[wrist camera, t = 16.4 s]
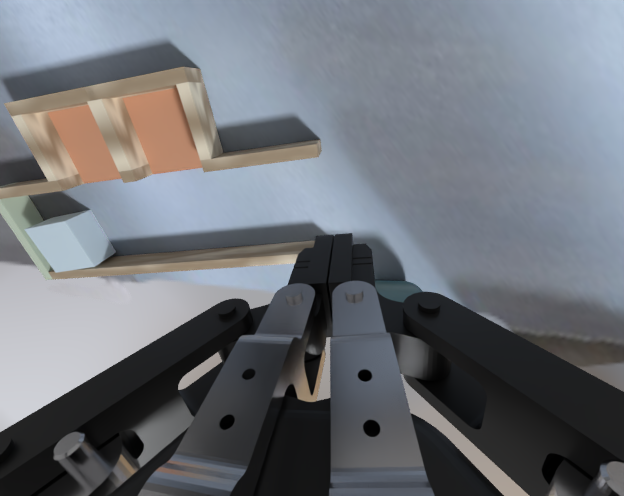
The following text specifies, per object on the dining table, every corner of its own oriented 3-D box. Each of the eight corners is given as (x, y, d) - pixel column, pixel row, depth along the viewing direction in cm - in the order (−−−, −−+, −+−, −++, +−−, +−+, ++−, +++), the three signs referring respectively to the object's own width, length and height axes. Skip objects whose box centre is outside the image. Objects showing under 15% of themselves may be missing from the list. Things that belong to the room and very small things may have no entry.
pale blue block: (53, 217, 49) (24, 229, 45) (91, 209, 47) (65, 221, 43) (80, 257, 53) (55, 272, 48) (116, 251, 51) (94, 266, 47)
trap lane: (-30, 115, 42) (-65, 117, 39) (308, 47, 33) (302, 42, 30) (65, 267, 54) (45, 279, 50) (334, 247, 45) (332, 260, 41)
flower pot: (362, 268, 46) (364, 305, 38) (420, 270, 45) (434, 308, 37) (361, 311, 50) (362, 352, 42) (413, 314, 49) (425, 356, 41)
